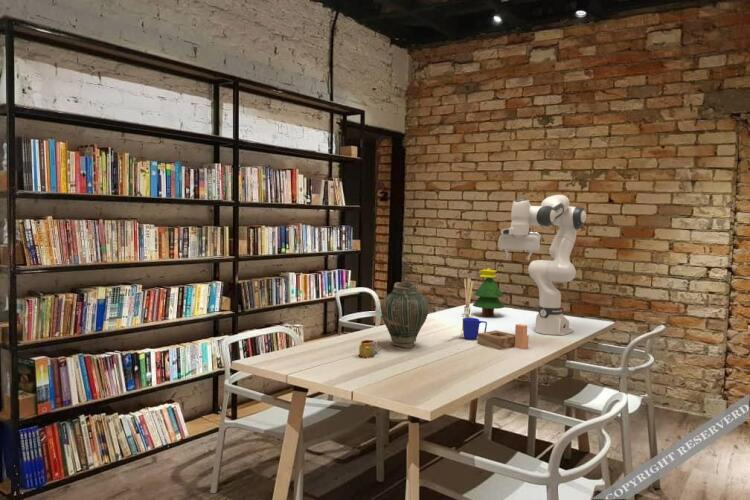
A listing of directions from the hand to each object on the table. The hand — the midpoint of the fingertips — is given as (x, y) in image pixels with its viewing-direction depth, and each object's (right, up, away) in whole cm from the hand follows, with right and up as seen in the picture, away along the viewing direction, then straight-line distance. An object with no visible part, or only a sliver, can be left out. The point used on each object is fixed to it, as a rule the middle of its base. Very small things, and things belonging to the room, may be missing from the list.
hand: (518, 259), depth 279 cm
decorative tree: (-1, -37, +72) cm, 81 cm away
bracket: (-1, -42, -10) cm, 43 cm away
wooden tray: (-11, -41, -5) cm, 43 cm away
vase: (-57, -41, -12) cm, 71 cm away
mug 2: (-21, -41, +7) cm, 46 cm away
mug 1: (-73, -42, -31) cm, 89 cm away
